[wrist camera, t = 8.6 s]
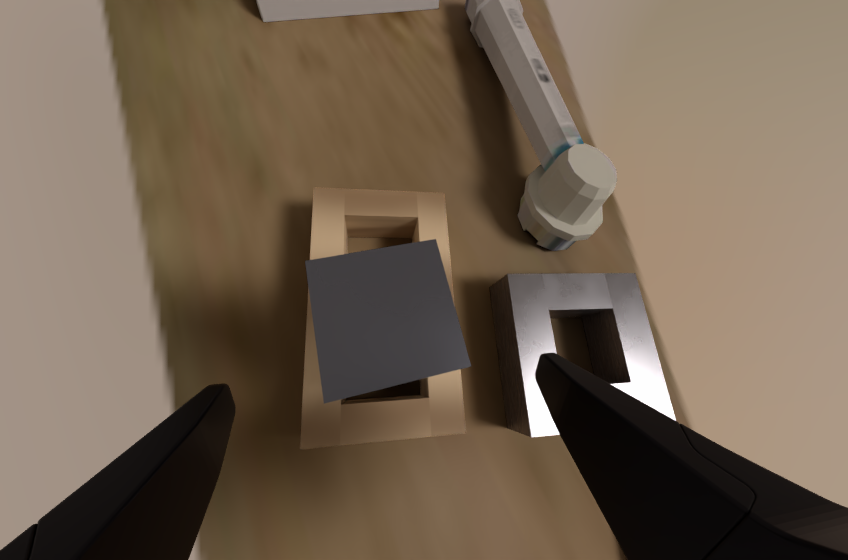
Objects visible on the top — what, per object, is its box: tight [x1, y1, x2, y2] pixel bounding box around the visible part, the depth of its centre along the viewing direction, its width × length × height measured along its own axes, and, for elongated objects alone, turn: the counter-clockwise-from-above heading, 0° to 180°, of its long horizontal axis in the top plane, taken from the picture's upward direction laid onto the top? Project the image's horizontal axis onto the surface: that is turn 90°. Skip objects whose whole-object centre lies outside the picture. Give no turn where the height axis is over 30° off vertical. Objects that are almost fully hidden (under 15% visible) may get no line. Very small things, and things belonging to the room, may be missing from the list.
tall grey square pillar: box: [305, 239, 471, 404], centre depth 13 cm, size 3×3×13 cm
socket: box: [489, 273, 676, 437], centre depth 19 cm, size 9×9×3 cm
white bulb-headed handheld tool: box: [465, 0, 617, 251], centre depth 25 cm, size 5×7×25 cm
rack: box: [300, 187, 466, 450], centre depth 18 cm, size 14×8×3 cm, turn 3°
